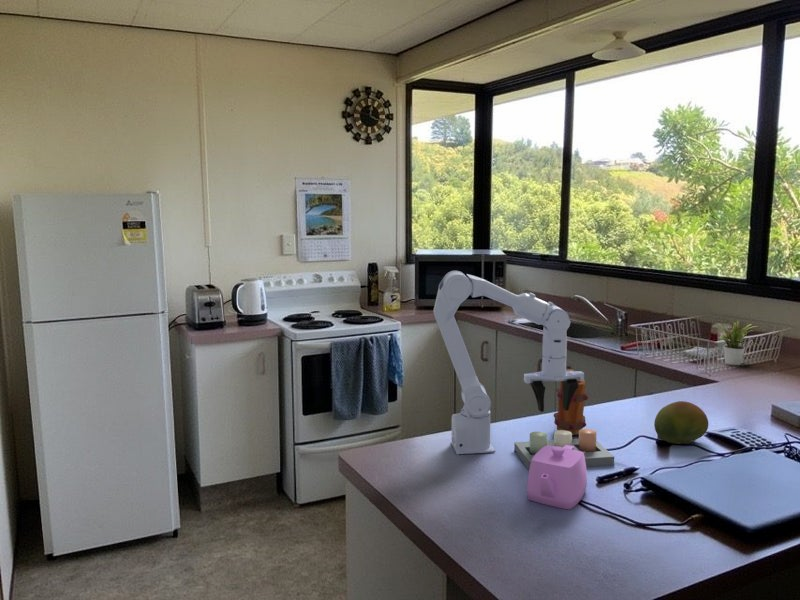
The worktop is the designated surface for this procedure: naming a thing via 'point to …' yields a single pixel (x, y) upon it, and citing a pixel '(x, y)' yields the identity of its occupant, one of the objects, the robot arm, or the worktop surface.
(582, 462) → the teapot
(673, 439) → the fruit
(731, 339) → the house plant
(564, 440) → the button cream
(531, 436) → the button sage
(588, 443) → the button terracotta
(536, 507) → the worktop surface
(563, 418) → the mug
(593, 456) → the panel
